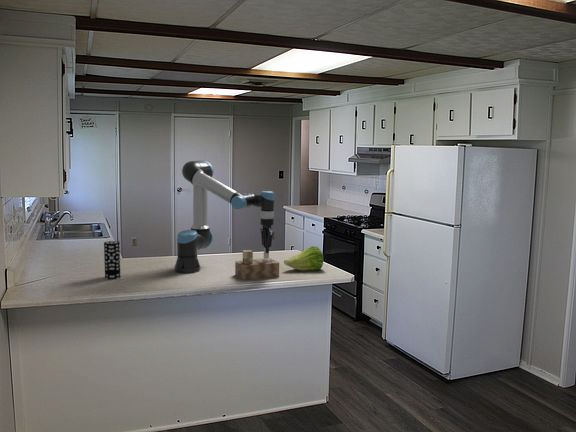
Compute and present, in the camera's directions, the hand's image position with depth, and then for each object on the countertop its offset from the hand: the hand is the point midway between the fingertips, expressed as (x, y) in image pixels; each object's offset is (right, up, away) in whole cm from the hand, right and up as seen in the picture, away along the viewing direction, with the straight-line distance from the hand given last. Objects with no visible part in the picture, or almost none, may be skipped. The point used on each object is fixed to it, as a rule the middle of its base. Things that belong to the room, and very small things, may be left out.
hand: (266, 258), depth 312 cm
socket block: (-5, -10, -2) cm, 11 cm away
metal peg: (0, -9, +1) cm, 9 cm away
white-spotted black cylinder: (-86, -10, -12) cm, 87 cm away
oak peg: (-10, -3, -5) cm, 12 cm away
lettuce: (+21, -9, +14) cm, 27 cm away
